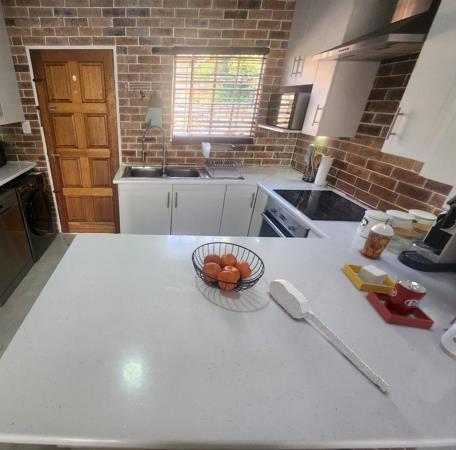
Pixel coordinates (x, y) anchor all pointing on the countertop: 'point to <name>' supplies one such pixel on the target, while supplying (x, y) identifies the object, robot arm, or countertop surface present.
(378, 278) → the white cube
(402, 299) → the soda can
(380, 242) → the smoothie
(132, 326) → the countertop surface
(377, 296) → the red bin
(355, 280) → the yellow bin
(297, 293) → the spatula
